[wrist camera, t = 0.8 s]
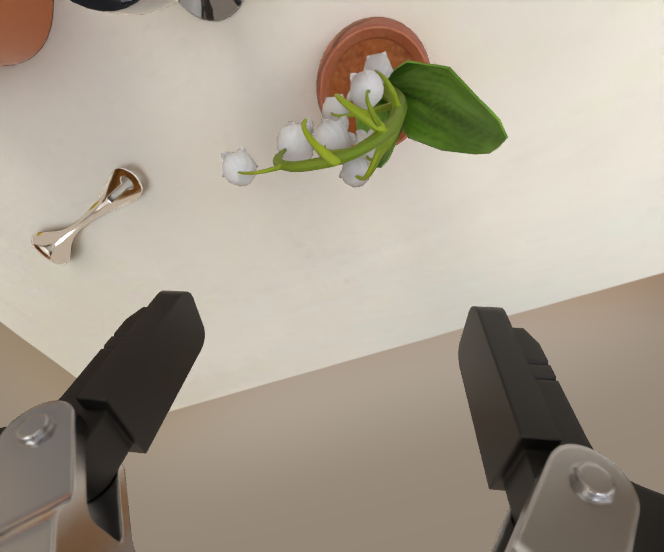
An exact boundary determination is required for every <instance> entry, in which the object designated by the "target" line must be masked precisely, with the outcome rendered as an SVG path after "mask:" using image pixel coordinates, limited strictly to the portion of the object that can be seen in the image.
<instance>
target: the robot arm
mask: <svg viewBox="0 0 664 552" xmlns="http://www.w3.org/2000/svg"><path fill="white" fill-rule="evenodd" d="M204 339H205V330H204V326H203V323H202V321H201V318H200V315H199V313H198V310H197V307H196V304H195V302H194V299H193V296H192V295H191V293H189V292H182V291H161V292H159V293H158V294H157V295H156V297H155V298H154V299H153V300H152V302H151V303H150V304H149V305H148V307H143V308H141V309H140V310H138V311H137V312H136V313H134V314H133V315H131V316H130V317H129V318H127V319H126V320H125V321H124V322H123V324H122V325H121V326H120V327H119V328H118V330H117V331H116V332H115V333H114V337H111V338H110V339H109V340H108V342H107V343H106V344H105V345H104V349H101V350H100V351H99V352H98V354H97V355H96V356H95V357H94V358H93V360H92V361H91V362H90V363H89V364H88V366H87V367H86V368H85V369H84V370H83V372H82V373H81V374H80V375H79V376H78V378H77V379H76V380H75V381H74V382H73V384H72V385H71V386H70V387H69V388H68V390H67V391H66V392H65V393H64V394H63V396H62V397H61V398H60V399H59V400H57V401H50V402H45V403H42V404H40V405H37V406H35V407H33V408H31V409H29V410H27V411H26V412H24V413H23V414H21V415H20V416H18V417H17V418H16V419H15V420H13V421H12V422H11V423H10V424H9V425H8V426H7V427H3V428H0V552H135V549H134V546H133V541H132V534H131V525H130V515H129V506H128V496H127V487H126V477H125V469H124V466H123V464H122V462H123V460H124V459H125V457H126V455H127V453H128V452H137V453H147V451H148V449H149V447H150V445H151V443H152V441H153V440H154V438H155V436H156V434H157V432H158V430H159V428H160V426H161V424H162V423H163V421H164V419H165V417H166V415H167V413H168V411H169V409H170V407H171V406H172V404H173V402H174V400H175V398H176V396H177V394H178V392H179V390H180V389H181V387H182V385H183V383H184V381H185V379H186V377H187V375H188V373H189V372H190V370H191V368H192V366H193V364H194V362H195V360H196V358H197V356H198V355H199V353H200V351H201V349H202V347H203V344H204ZM458 356H459V366H460V370H461V375H462V379H463V383H464V387H465V391H466V395H467V399H468V403H469V408H470V412H471V416H472V420H473V424H474V428H475V432H476V437H477V441H478V445H479V449H480V453H481V457H482V461H483V466H484V470H485V474H486V478H487V482H488V486H489V489H493V490H504V491H506V494H507V498H508V501H509V505H510V507H509V509H508V510H507V513H506V515H505V517H504V519H503V521H502V524H501V526H500V528H499V530H498V532H497V535H496V537H495V539H494V541H493V543H492V546H491V548H490V550H489V552H664V495H663V494H660V493H658V492H655V491H652V490H650V489H647V488H645V487H642V486H640V485H638V484H635V483H633V482H632V481H630V480H629V479H628V478H627V476H626V475H625V474H624V472H623V471H622V470H621V469H620V468H619V467H618V466H617V465H616V464H615V463H613V462H612V461H611V460H610V459H608V458H607V457H605V456H604V455H602V454H601V453H599V452H597V451H595V450H594V449H593V448H592V446H591V445H590V443H589V441H588V439H587V437H586V435H585V434H584V431H583V430H582V427H581V426H580V424H579V422H578V420H577V418H576V416H575V414H574V412H573V410H572V408H571V406H570V404H569V402H568V400H567V398H566V396H565V394H564V392H563V390H562V388H561V386H560V384H559V382H558V381H556V376H555V374H554V372H553V370H552V368H551V366H550V365H548V360H547V358H546V356H545V354H544V352H543V350H542V349H541V346H540V344H539V343H538V342H537V341H536V340H535V339H534V338H533V337H532V336H531V335H530V334H529V333H528V332H527V331H526V330H524V329H523V328H512V326H511V323H510V321H509V319H508V317H507V314H506V312H505V310H504V309H503V308H497V307H477V306H473V307H471V308H470V310H469V313H468V317H467V320H466V323H465V327H464V330H463V334H462V337H461V341H460V344H459V351H458Z"/></svg>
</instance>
